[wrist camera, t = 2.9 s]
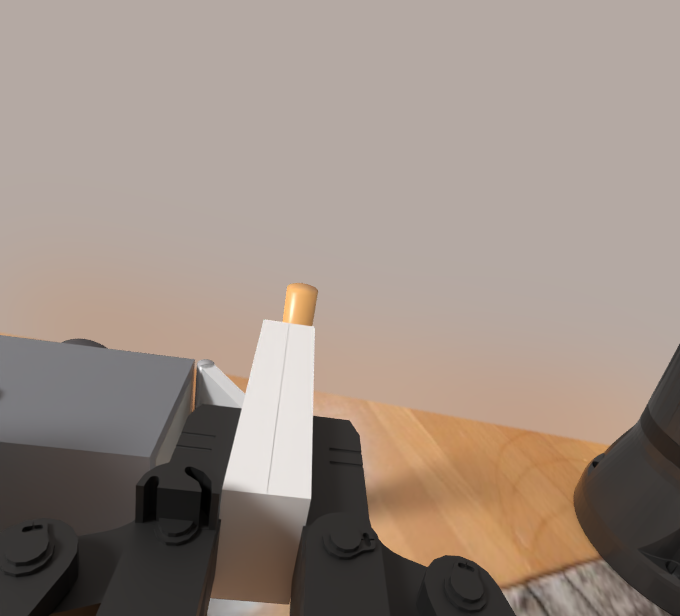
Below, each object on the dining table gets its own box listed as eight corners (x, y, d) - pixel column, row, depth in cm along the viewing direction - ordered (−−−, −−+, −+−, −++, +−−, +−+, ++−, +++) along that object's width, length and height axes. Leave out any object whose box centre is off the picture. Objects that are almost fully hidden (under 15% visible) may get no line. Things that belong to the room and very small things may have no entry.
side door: (206, 436, 39) (220, 230, 32) (284, 528, 32) (324, 293, 25) (187, 443, 38) (197, 231, 31) (263, 540, 31) (299, 297, 24)
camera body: (197, 427, 40) (203, 334, 36) (149, 560, 29) (150, 445, 25) (18, 408, 38) (5, 309, 35) (-106, 540, 27) (-143, 414, 24)
